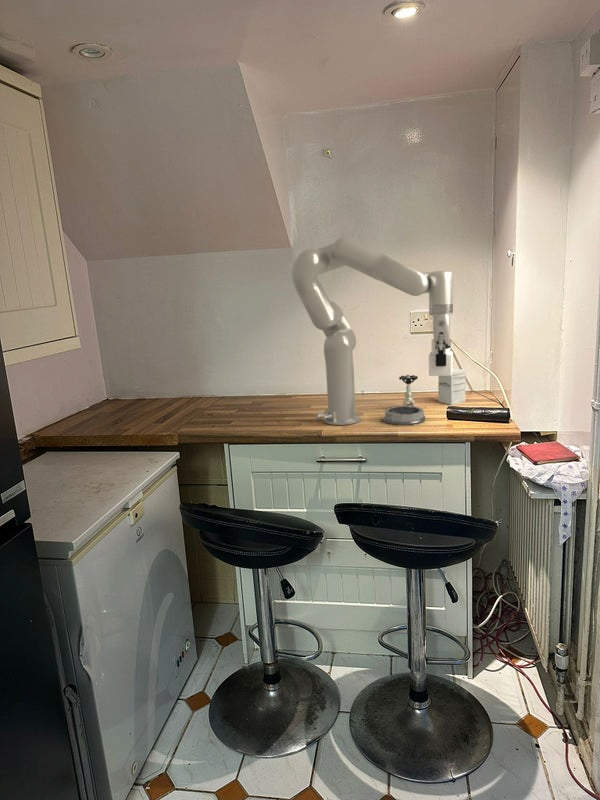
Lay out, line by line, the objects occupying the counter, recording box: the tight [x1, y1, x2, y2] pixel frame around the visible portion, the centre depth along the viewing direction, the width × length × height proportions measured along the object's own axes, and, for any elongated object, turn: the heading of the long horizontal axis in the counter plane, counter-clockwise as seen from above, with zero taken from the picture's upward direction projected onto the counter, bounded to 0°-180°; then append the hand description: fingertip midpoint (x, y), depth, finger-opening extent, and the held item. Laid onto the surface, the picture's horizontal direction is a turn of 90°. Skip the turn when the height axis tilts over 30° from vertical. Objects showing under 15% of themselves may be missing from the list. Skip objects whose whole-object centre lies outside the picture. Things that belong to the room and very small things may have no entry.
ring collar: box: [383, 405, 426, 426], centre depth 197 cm, size 14×14×4 cm
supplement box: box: [437, 367, 467, 406], centre depth 218 cm, size 7×7×13 cm
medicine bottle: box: [428, 338, 454, 377], centre depth 189 cm, size 7×7×12 cm
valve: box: [399, 374, 418, 407], centre depth 213 cm, size 7×7×12 cm
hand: (440, 363), depth 189 cm, fingers closed on medicine bottle, 7 cm apart
